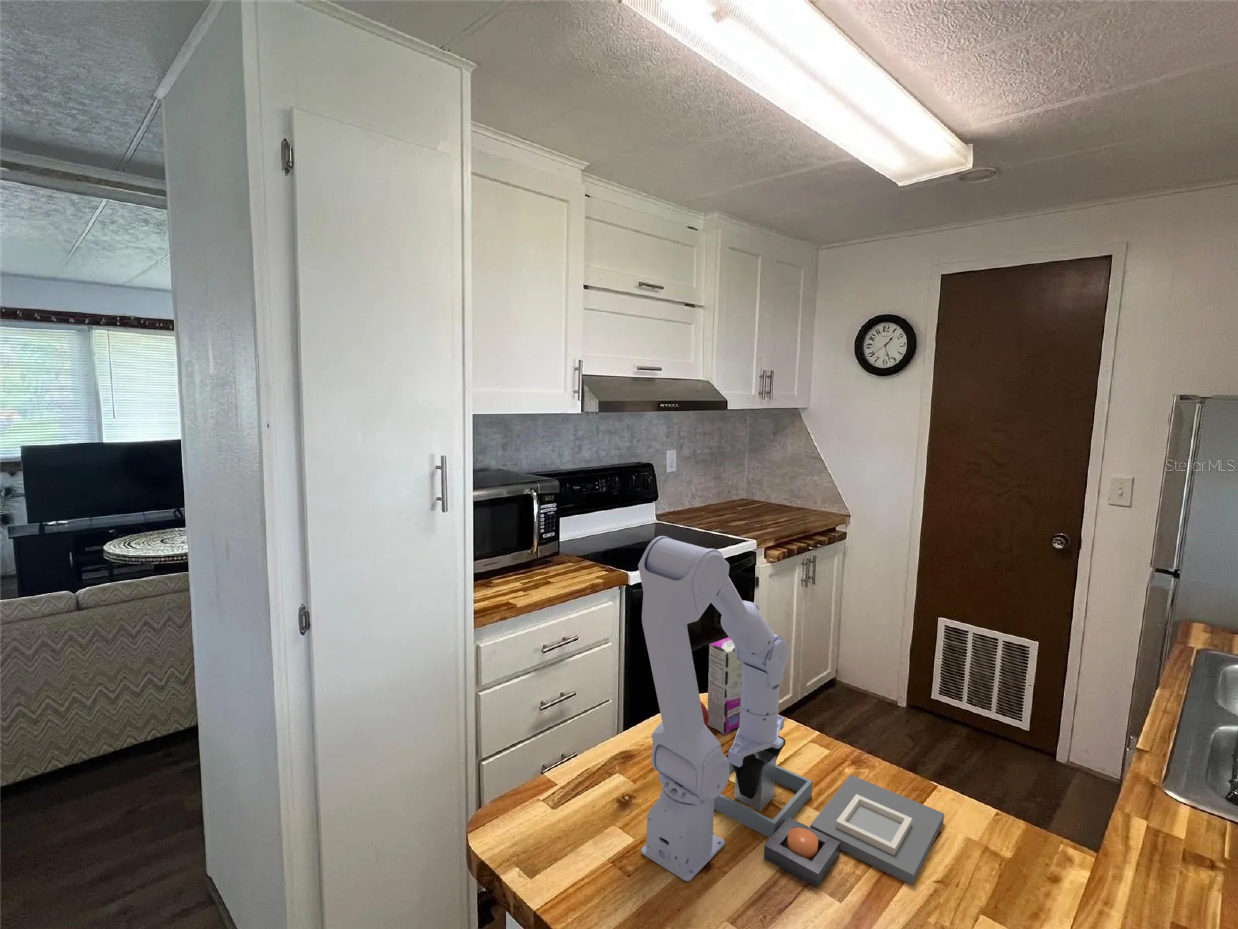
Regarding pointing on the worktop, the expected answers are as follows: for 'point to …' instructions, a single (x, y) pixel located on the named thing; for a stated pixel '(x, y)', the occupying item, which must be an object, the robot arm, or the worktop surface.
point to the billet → (761, 782)
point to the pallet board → (880, 827)
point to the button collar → (797, 864)
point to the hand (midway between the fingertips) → (754, 788)
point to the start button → (803, 843)
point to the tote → (761, 821)
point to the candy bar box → (724, 686)
